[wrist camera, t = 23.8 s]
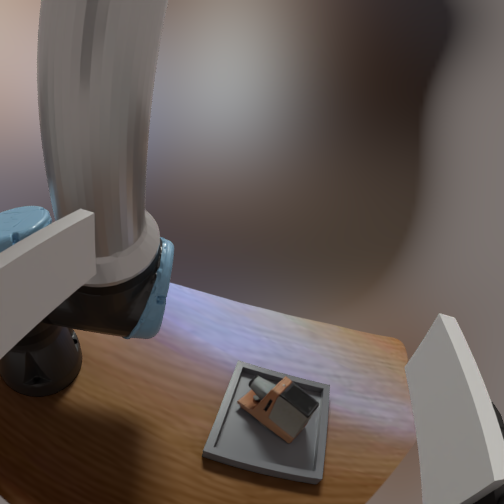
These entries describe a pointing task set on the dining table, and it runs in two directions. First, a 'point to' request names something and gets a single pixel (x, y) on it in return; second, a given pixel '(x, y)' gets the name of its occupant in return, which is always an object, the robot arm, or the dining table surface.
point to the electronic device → (279, 406)
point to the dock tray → (268, 432)
